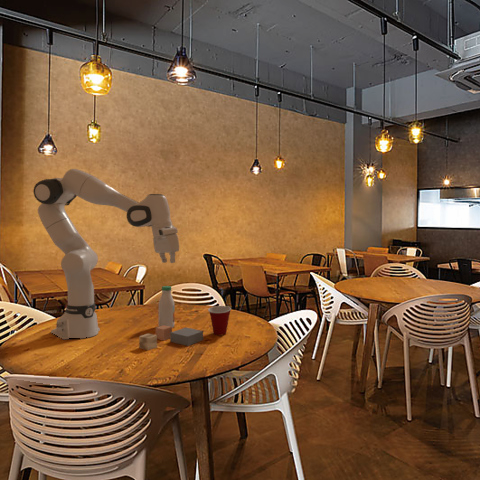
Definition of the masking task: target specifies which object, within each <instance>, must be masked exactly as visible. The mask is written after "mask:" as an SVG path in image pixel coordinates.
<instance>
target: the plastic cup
mask: <svg viewBox="0 0 480 480" xmlns="http://www.w3.org/2000/svg"><path fill="white" fill-rule="evenodd" d="M231 310H232V308H231V307H230V306H227V305H217V306H212V307H209V308H208V309H207V311H208V313H209V316H210V321H211V327H212V332H213V334H214V335H215V336H225V335H226V334H227V329H228V327H229V326H228V325H229V321H230V320H229V319H230V314H231ZM224 334H225V335H224Z"/></svg>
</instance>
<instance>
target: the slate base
mask: <svg viewBox="0 0 480 480" xmlns="http://www.w3.org/2000/svg"><path fill="white" fill-rule="evenodd" d="M169 340H170V342H171V343H173V344H174V343H175V344H179V345H183V346H185V347H186V346H187V347H189V346H191V345H194V344H196V343H199V342H202V341H204V330H199V329H197V328H190V327H183V328H181V329H177V330H174V331H172V332H171V333H170V339H169Z"/></svg>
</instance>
